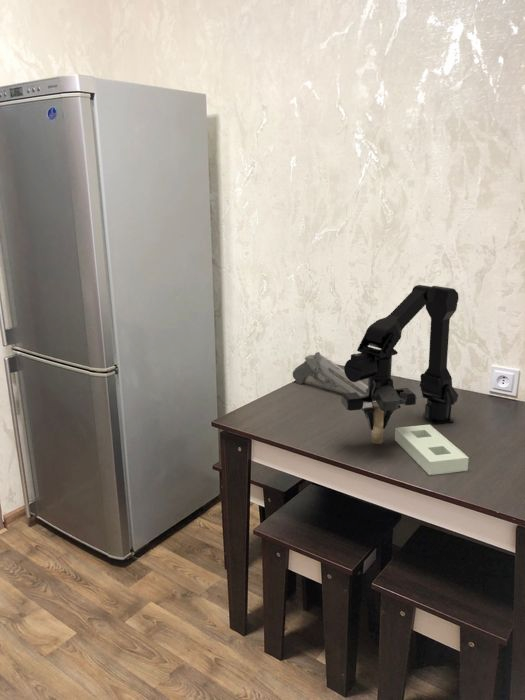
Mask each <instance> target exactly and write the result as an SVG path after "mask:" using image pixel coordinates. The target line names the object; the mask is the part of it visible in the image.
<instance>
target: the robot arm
mask: <svg viewBox="0 0 525 700" xmlns="http://www.w3.org/2000/svg"><path fill="white" fill-rule="evenodd" d="M458 302H459V293H458V291H457V290H456V289H455V288H451V287H446V286H445V287H444V286H440V285H439V286H438V285H432V286H430V285H422V284H417V285H414V286H413V288H412V290H411V292H410V293H409V294H408V295H407V296H406V297H405V298H404V299H403V300H402V302H400V303H399V304H398V305H397V306H396V307H395V309H394V310H393V311H391V313H390V314H388V315H387V316H386V317H383V318H380V319H377V320H376V321H374V322H373V323H371V324H370V325H369V326H368V328H367V329H366V331H365V333H364V336H363V337H362V340H361V341H360V343H359V346H358V347H357V352H358V353H352V354H350V359H348V360H347V361H346V362H345V364H344V367H343V370H344V371H345V375H346V377H347V378H348V379H349V380H350V381H352V382H357V381H361V382H362V381H364V380H367V386H368V389H366V393H367V394H368V396H359V395H358V394H357V393H356V392H354V393H347V392H345V393H343V394H342V395H341V397H340V399H341V403H340V404H341V405H343V407H344V408H345V409H346V410H347V411H360V410H361V411H362V412H363V414H364V417H365V419H366V422H367V424H368V427H369V429H370V431H372V430H373V412H374V410H375V409H374V408H373V403H374V404H376V403H377V404H378V406H379V408H380V410H382V411H384V422H383V430H385V429H386V427H387V425H388V422H389V421H390V418H391V416H392V414H393V413H394V412H395V411H397V410H398V409H401V405H404V406H414V405H416V404H417V395H416V394H415V393H414V392H413V391H412V390H410V389H409V388H407V387H402V388H394V381H393V379H392V363H393V356H397V355H398V353H399V352H398V351H397V350H396V349H395V347H396V346H397V344H398V342H399V341H400V340H401V338H402V334H403V333H402V331H403V330H404V328H405V327H406V326H407V325H408V324H409V323H410V322H411V321H412V320H413V318H415V317H416V316H417V315H418V313H419V312H420V311H421V310H422V309H423V308H424V307H425V310H426V312H427V313H428V316H429V317H430V330H429V331H430V333H429V334H430V335H429V336H430V337H429V351H428V367H427V368H426V370H425V371H424V373H421V374H420V383H419V387H420V390H421V394H422V398H424V399H427V400H426V403H425V405H424V406H425V407H424V414H422V415H423V417H424V418H425V419H426V420H427V421H429V422H430V423H431V424H433V425H437V424H439V425H440V424H447V423H453V422H454V420H453V418H451V416H452V406H454V405H455V403H457V401H458V398H459V394H458V393H457V391H456V390H455V388H454V387H453V378H452V376H451V373H450V372H449V370H448V367H447V366H448V354H449V352H448V350H449V340H450V339H449V335H450V322H451V321H450V320H451V318H452V316H454V314H455V313H456V311H457V308H458ZM374 347H375V348H374Z"/></svg>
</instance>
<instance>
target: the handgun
mask: <svg viewBox="0 0 525 700" xmlns="http://www.w3.org/2000/svg"><path fill="white" fill-rule="evenodd" d="M304 359H305V361H304V362H303V363H301V364H299V365H298V366H296V367H295V369H294V370H293V371H292V378H293V379H294V380H295V381H296V383H297V385H298V384H299V385H302V384H304V383H306V381H307V379H308V378H309V377H312V379H313V380H314V381H315V382H317V383H318V384H320V385H321V386H323V387H324V388H326V389H327V390H330V389H332V388H333V389H336V388H337V387H338V388H340V389H341V390H343V391H344V392H345V393H354V392H356V393H357V394H358V395H359V396H368V394H367V393H366V389H368V384H367V385H366V384H365V383H364V382H363V381H362V380H361V381H357V382H352V381H350V380H349V379H348V378H347V377H346V375H345V371H344V368H342V367H340V366H339V365H337V364H336V363H335V362H333V361H332V360H330V359H328V357H325V356H324V355H322V354H321V353H320V352H319V351H318V352H315V354H311V355H307V356H305V357H304ZM318 375H321V376H323V377H324V378H325V380H324V381H323V380H322V379H321V378H319V376H318Z"/></svg>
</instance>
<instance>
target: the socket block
mask: <svg viewBox="0 0 525 700" xmlns="http://www.w3.org/2000/svg"><path fill="white" fill-rule="evenodd" d="M394 431H395V432H394V441H396V443H397V444H398V445H399V446H400V447H401V448H402V449H403V450H404V451H405V452H406V453H407V454H408V455H409V456H410V457H411V458H412V460H414V461H415V462H416V464H418V465H419V467H421V468H422V469H423V470H424V471H425V472H426V474H428V475H429V476H435V475H442V474H443V475H444V474H451V473H459V472H467V471H468V468H469V458H470V457H468V456H467V455H466V454H465V453H464V452H463V451H462V450H461V449H460V448H458V447H456V446H455V444H453V443H452V442H451V441H450V440H448V439H447V438H446V437H445V435H443V434H441V433H440V432H439V431H438V430H437V429H436V428H434V427H433V426H432V425H431V424H422V425H410V426H402V427H401V426H400V427H395V430H394Z"/></svg>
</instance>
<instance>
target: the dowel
mask: <svg viewBox="0 0 525 700" xmlns="http://www.w3.org/2000/svg"><path fill="white" fill-rule="evenodd" d="M372 407H373V408H374V409H375V410H374V412H373V430H371V431H370V432H371V435H370V436H371V438H370V439H371V440H370V441H371V443H373V444H375V445H378V444H379V445H380V444H382V443H383V441H384V439H383V437H384V429H383V422H384V411H382V410H380V408H379V406H378V404H376V403H374V404H372Z"/></svg>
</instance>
